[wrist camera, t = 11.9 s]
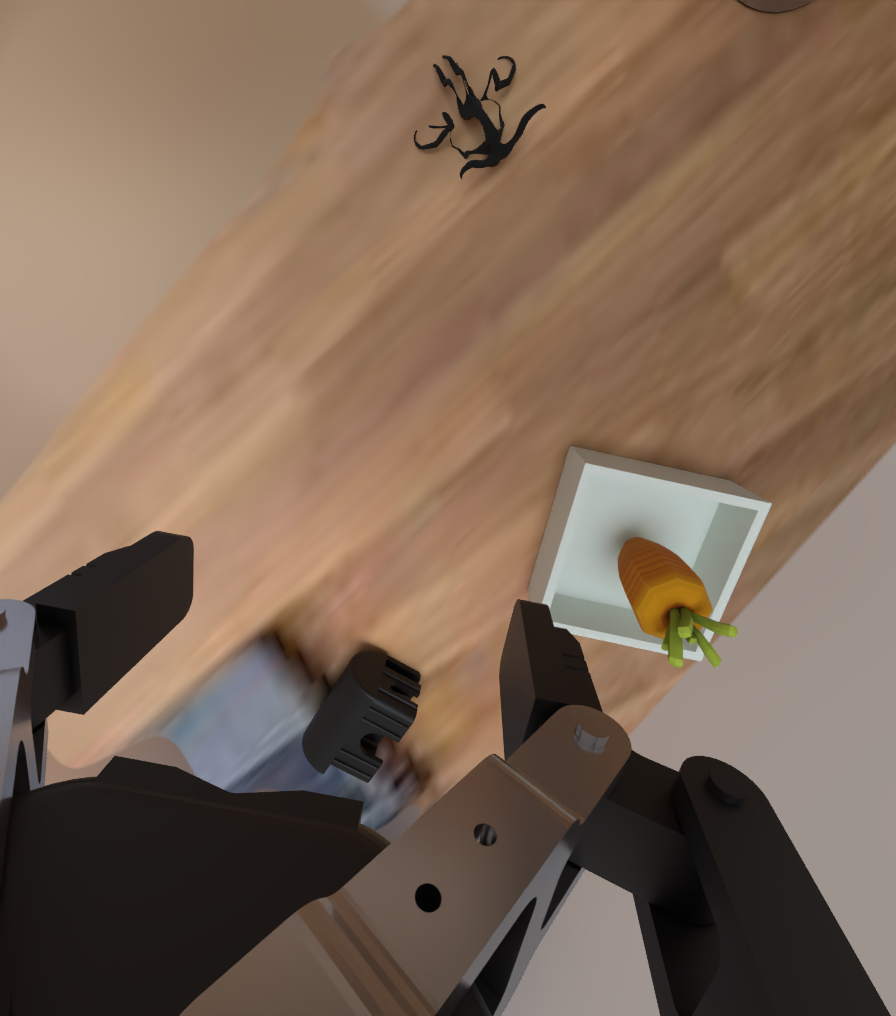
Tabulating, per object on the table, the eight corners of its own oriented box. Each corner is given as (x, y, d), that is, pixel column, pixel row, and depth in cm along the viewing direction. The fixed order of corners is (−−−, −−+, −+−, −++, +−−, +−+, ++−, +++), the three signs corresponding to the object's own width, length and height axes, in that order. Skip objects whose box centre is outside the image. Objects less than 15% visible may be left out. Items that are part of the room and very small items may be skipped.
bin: (569, 445, 40) (585, 463, 35) (730, 480, 40) (771, 503, 35) (527, 589, 45) (534, 626, 39) (672, 620, 45) (701, 661, 39)
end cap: (361, 635, 47) (343, 681, 41) (425, 670, 48) (417, 720, 42) (315, 706, 50) (291, 760, 44) (376, 738, 51) (362, 795, 45)
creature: (397, 120, 35) (460, 216, 35) (372, 64, 30) (445, 178, 30) (490, 36, 33) (556, 137, 33) (481, -40, 28) (559, 81, 28)
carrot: (663, 513, 40) (754, 613, 26) (659, 568, 42) (742, 689, 28) (600, 515, 41) (657, 614, 27) (598, 569, 43) (651, 689, 29)
